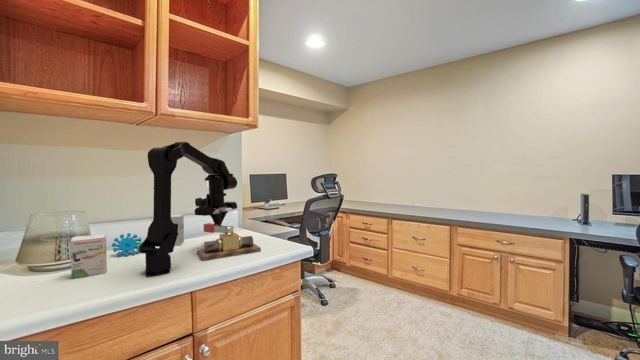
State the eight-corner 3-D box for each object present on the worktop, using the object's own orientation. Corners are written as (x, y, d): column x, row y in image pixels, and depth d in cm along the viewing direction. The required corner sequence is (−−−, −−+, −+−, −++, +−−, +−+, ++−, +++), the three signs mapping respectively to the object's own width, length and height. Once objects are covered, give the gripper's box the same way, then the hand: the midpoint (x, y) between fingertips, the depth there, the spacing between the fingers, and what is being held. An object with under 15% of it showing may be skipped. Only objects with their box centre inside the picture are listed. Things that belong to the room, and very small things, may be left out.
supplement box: (180, 245, 123) (180, 216, 123) (161, 246, 121) (161, 217, 121) (184, 241, 130) (184, 213, 130) (166, 242, 129) (166, 214, 128)
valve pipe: (206, 255, 105) (206, 239, 105) (203, 252, 110) (203, 236, 110) (254, 248, 115) (253, 233, 114) (249, 245, 119) (249, 230, 119)
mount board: (201, 261, 102) (201, 256, 102) (196, 254, 111) (196, 250, 111) (260, 251, 114) (260, 247, 114) (252, 245, 122) (252, 242, 122)
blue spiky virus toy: (110, 254, 104) (113, 231, 111) (109, 263, 108) (113, 240, 114) (145, 254, 110) (147, 232, 117) (143, 262, 114) (145, 240, 120)
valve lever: (235, 233, 113) (235, 225, 113) (229, 235, 110) (229, 227, 110) (209, 230, 118) (209, 223, 118) (203, 231, 116) (203, 224, 115)
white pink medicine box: (70, 279, 86) (69, 240, 85) (73, 274, 90) (71, 236, 89) (106, 273, 90) (105, 236, 90) (107, 268, 95) (106, 233, 94)
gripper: (216, 188, 129) (218, 223, 130) (183, 193, 111) (184, 232, 112) (237, 189, 124) (238, 224, 125) (205, 193, 107) (207, 235, 108)
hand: (217, 228), depth 118 cm, fingers closed
